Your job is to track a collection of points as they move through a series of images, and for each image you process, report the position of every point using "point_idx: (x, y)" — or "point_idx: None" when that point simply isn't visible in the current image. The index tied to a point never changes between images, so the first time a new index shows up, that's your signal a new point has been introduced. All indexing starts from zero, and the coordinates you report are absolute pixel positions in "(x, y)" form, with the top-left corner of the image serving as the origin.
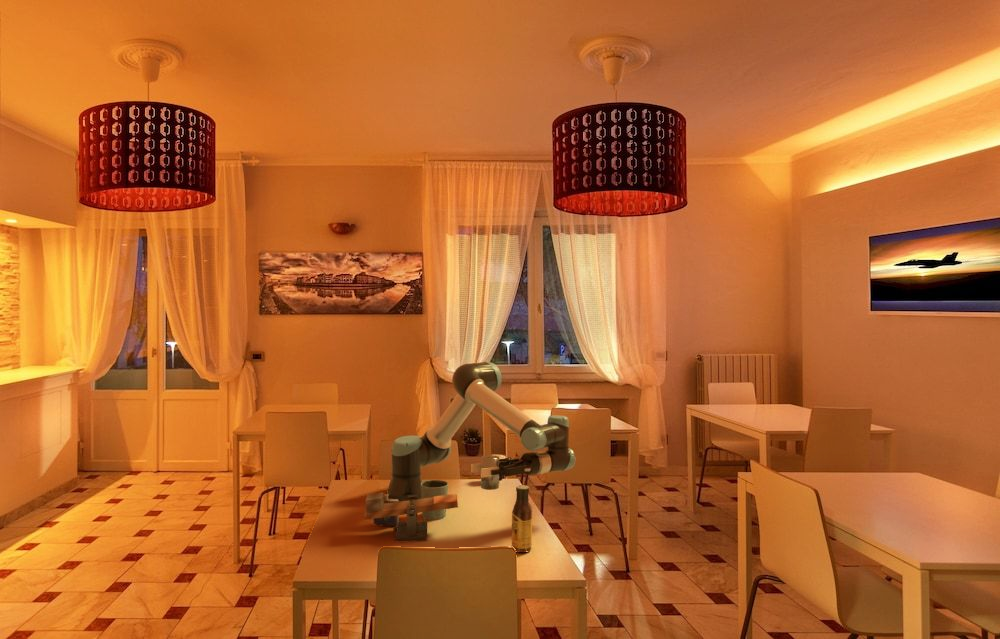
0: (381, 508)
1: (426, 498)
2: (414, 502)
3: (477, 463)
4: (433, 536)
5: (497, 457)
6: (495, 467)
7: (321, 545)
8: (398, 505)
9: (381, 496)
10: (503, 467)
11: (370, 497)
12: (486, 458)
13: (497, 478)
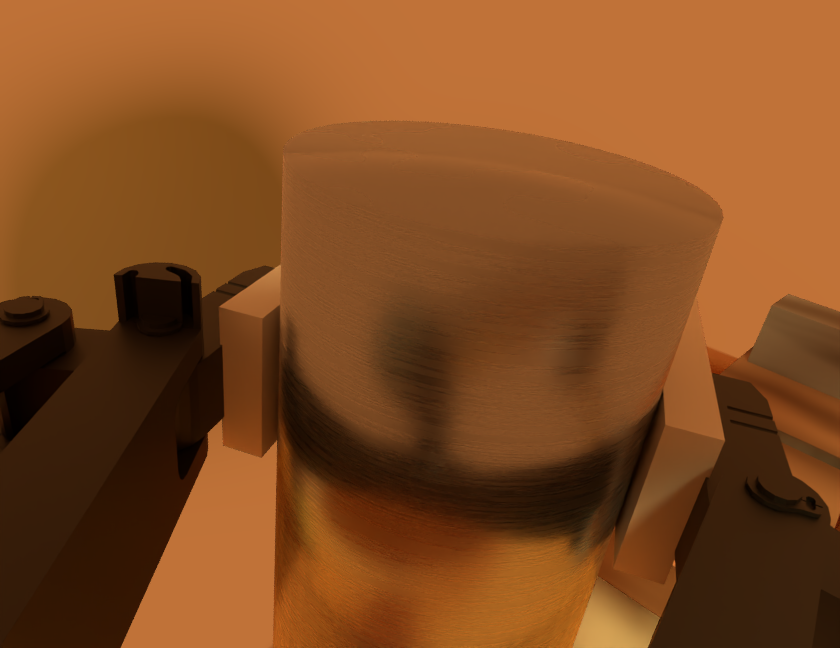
0: (752, 350)
1: (832, 506)
2: (784, 444)
3: (695, 312)
4: (600, 606)
5: (353, 178)
6: (268, 277)
7: (722, 362)
8: (784, 406)
9: (810, 319)
10: (132, 343)
11: (827, 311)
12: (462, 131)
13: (276, 521)
